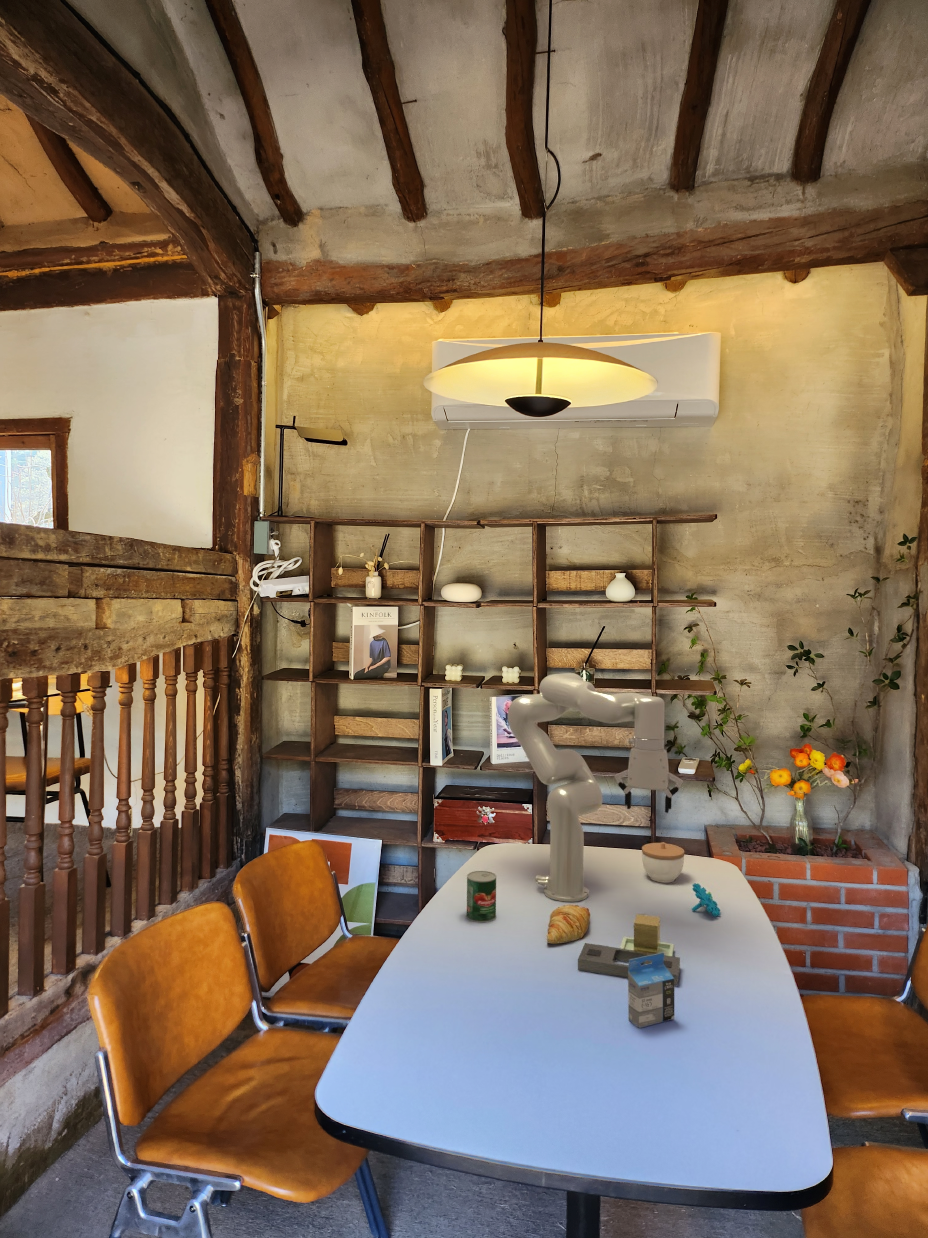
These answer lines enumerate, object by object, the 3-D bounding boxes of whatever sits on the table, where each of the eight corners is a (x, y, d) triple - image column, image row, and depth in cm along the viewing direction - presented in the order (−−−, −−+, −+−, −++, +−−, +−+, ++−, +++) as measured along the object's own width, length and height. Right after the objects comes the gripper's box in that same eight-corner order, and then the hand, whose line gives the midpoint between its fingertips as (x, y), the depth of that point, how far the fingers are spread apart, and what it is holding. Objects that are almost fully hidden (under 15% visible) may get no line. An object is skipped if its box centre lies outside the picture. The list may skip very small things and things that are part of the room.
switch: (577, 970, 180) (577, 958, 179) (584, 953, 188) (585, 942, 188) (677, 986, 172) (677, 974, 172) (679, 968, 181) (680, 957, 181)
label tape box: (639, 1029, 155) (640, 967, 155) (626, 1019, 159) (627, 959, 158) (675, 1020, 158) (676, 960, 158) (662, 1010, 162) (663, 951, 162)
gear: (718, 917, 206) (692, 885, 210) (701, 930, 208) (676, 898, 212) (726, 909, 216) (701, 878, 220) (710, 921, 218) (685, 890, 222)
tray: (619, 957, 186) (619, 950, 186) (623, 943, 194) (623, 936, 194) (671, 965, 182) (671, 958, 182) (673, 950, 190) (673, 944, 190)
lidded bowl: (688, 886, 233) (689, 849, 233) (646, 886, 233) (646, 849, 233) (677, 872, 246) (678, 837, 245) (637, 871, 246) (638, 836, 246)
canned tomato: (484, 925, 204) (485, 883, 203) (460, 917, 208) (460, 876, 208) (501, 915, 210) (502, 875, 210) (478, 908, 215) (478, 868, 214)
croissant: (559, 964, 190) (573, 939, 188) (527, 936, 195) (540, 911, 192) (595, 932, 208) (608, 909, 205) (564, 907, 212) (577, 884, 210)
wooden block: (633, 954, 187) (634, 923, 186) (636, 944, 192) (636, 914, 192) (657, 958, 185) (657, 926, 185) (659, 948, 190) (660, 917, 190)
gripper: (613, 744, 203) (612, 810, 203) (682, 749, 197) (681, 816, 198) (617, 739, 210) (616, 803, 211) (684, 744, 204) (683, 809, 205)
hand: (647, 809), depth 204 cm, fingers open, 9 cm apart
